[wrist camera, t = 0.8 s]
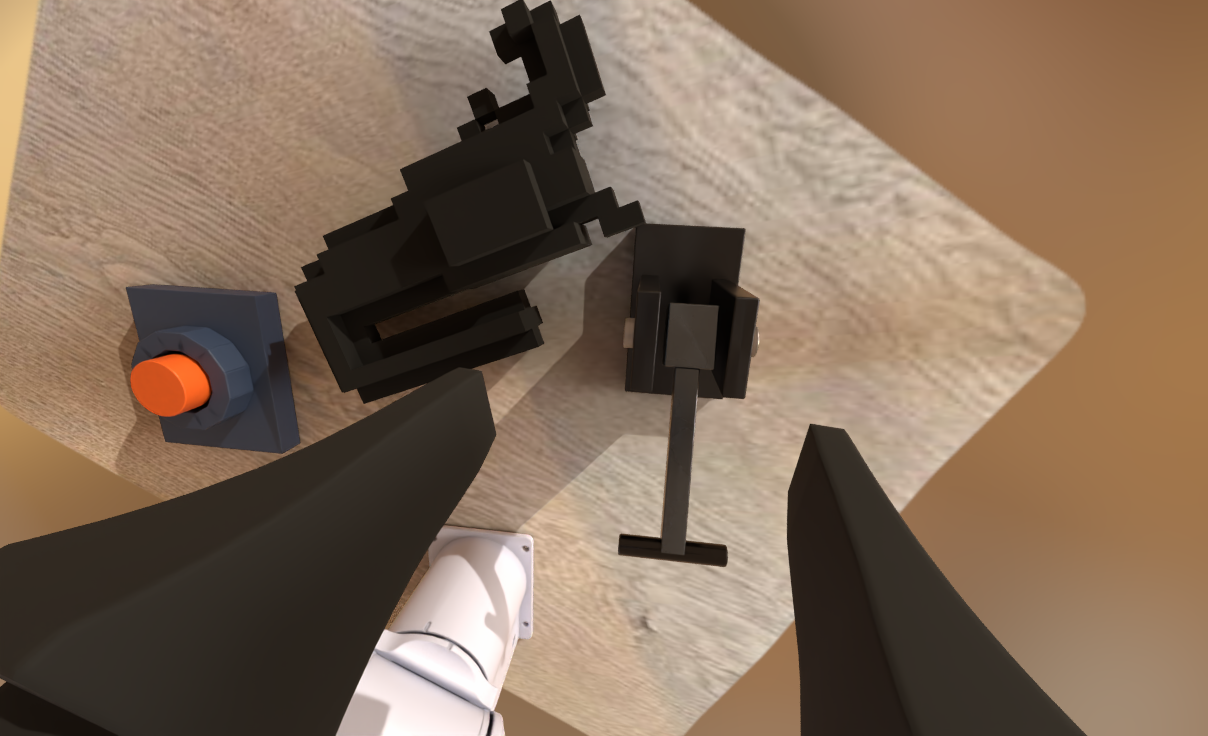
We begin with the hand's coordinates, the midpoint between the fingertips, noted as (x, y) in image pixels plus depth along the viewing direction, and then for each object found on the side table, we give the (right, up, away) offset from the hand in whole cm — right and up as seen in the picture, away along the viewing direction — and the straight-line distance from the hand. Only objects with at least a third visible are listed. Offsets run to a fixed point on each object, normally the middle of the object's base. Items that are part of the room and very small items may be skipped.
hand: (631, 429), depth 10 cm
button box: (-27, +1, +22) cm, 35 cm away
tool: (-9, +10, +17) cm, 22 cm away
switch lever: (+3, -2, +12) cm, 13 cm away
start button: (-27, +1, +19) cm, 33 cm away
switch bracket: (+4, +5, +17) cm, 19 cm away
